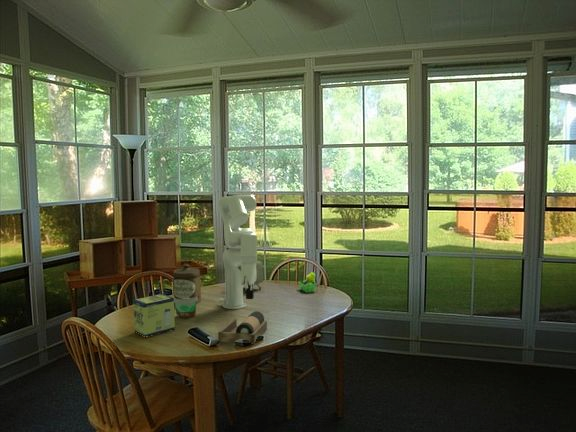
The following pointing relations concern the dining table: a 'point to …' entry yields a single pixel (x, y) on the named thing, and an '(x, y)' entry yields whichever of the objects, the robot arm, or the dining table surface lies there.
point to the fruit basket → (308, 283)
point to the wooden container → (187, 283)
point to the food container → (185, 307)
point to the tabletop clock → (258, 273)
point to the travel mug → (251, 323)
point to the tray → (231, 336)
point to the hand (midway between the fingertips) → (249, 298)
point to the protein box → (153, 315)
